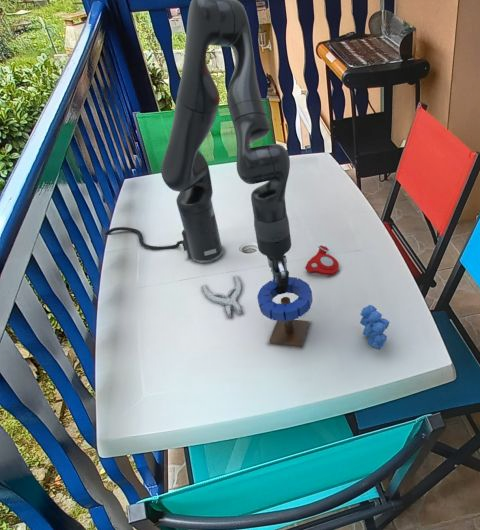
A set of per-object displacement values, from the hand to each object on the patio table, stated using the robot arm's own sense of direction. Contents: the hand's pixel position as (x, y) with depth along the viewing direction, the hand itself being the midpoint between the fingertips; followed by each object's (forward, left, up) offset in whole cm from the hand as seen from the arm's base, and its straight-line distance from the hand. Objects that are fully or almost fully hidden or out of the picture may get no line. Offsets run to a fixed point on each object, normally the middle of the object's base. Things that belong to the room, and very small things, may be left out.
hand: (280, 288), depth 121 cm
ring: (+2, -4, -1) cm, 5 cm away
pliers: (-18, +6, -11) cm, 22 cm away
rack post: (+2, -4, -11) cm, 12 cm away
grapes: (+24, -4, -11) cm, 27 cm away
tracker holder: (+5, +24, -11) cm, 27 cm away
